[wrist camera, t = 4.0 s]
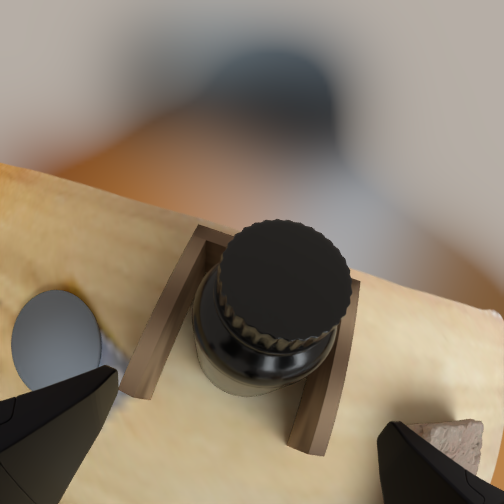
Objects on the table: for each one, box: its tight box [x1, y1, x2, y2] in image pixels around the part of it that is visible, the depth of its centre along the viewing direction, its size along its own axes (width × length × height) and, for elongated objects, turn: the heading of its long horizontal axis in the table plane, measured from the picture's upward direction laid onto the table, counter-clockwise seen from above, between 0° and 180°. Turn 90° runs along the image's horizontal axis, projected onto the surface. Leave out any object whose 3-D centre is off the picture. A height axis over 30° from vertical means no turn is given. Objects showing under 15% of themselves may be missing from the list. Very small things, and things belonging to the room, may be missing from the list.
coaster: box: [11, 290, 102, 391], centre depth 16 cm, size 9×9×1 cm
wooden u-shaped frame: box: [118, 224, 360, 456], centre depth 17 cm, size 12×12×4 cm
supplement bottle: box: [192, 219, 353, 397], centre depth 14 cm, size 7×7×12 cm
